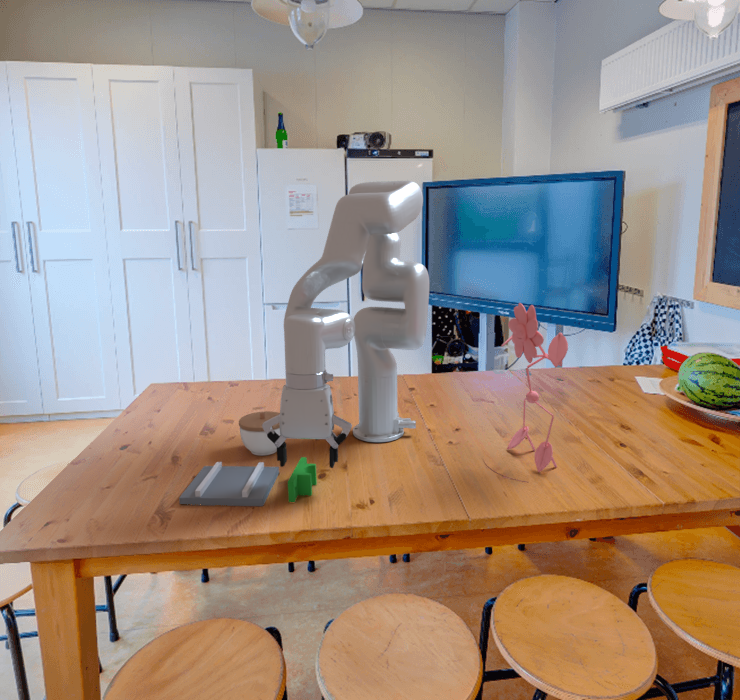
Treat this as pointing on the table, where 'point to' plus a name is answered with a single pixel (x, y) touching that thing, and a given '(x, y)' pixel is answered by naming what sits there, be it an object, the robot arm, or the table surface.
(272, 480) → the rail board
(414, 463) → the table surface
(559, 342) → the figurine
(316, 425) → the robot arm
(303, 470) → the pipe clamp
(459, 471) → the table surface
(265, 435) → the lidded jar
